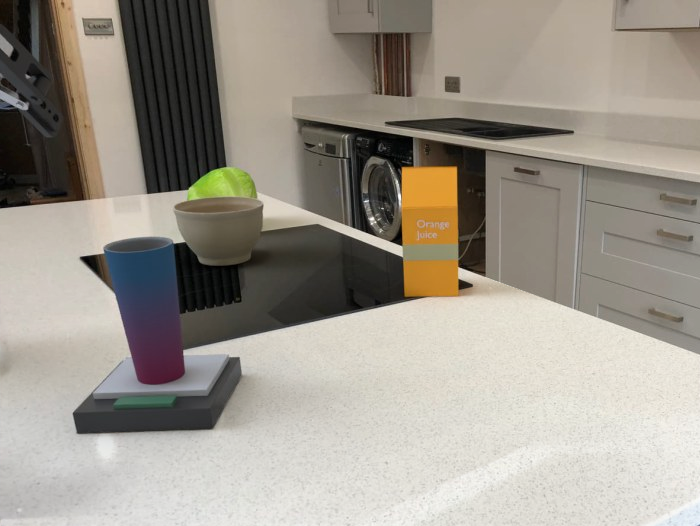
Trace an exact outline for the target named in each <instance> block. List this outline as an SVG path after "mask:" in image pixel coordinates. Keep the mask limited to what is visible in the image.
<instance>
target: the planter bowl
mask: <svg viewBox="0 0 700 526" xmlns="http://www.w3.org/2000/svg"><path fill="white" fill-rule="evenodd" d="M264 207H265V206H264V201H263V200H261V199H258V198H257V199H255V198H249V197H234V196H226V197H207V198H199V199H193V200H187V199H186V200H184V201H180V202H177V203H175V204H173V206H172V210H173V211H172V212H173V213H174V215H175V221H176V224H177V228H178V231H179V234H180V235H181V238H182V239H183V240H184V242H185V244H186V245H187V246H188V248H189V249H190V250H191V251H192V252H193V253H194V254H195V256H197V259H198V262H199V263H200V264H202V265H205V266H209V267H213V266H214V267H215V266H216V267H217V266H218V267H223V266H233V265H234V266H235V265H239V264H242V263H245V262H247V261H249V260H251V258H252V251H253V250H254V248H255V247H256V245H257V244H258V242H259V240H260V239H259V238H260V237H261V232H262V229H263V223H264Z"/></svg>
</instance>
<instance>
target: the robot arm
mask: <svg viewBox="0 0 700 526" xmlns="http://www.w3.org/2000/svg"><path fill="white" fill-rule="evenodd" d="M27 72H28V73H29V74H30V75H31V76H30V75H28V74H27ZM2 79H6V81H8V83H10V84H11V86H13V87H14V88H15V89H16V90H15V91H13V90H12V89H10V88H7V87H5V86H4V85H3V84H2ZM53 80H54V77H53V75H52V74H51V73H50V72H49V71H48V70H47V69H46V68H45V67H44V65H42V63H40V62H39V61H38V59H36V58H35V56H34V55H33V54H32V53H31V52H30V51H29V50H28V49H27V48H26V47H25V46H24V45H23V44H22V43H21V42H20V41H19V40H18V39H17V38H16V36H14V35H13V34H12V33H11V32H10V31H9V30H8V29H7V27H5V25H3V24H1V23H0V100H2V101H4V102H5V103H7V104H10V105H12V106H13V107H15V108H17V110H18V111H19V113H20V114H22V116H24V117H25V118H26V119H27V121H29V122H30V123H31V124H32V125H33V127H35V128H36V130H38V131H39V132H40V134H42V135H43V137H45V138H57V137H58V135H59V133H60V130H61V128H62V126H63V122H64V116H63V115H62V113H61V112H60V111H59V110H58V109H57V108H56V107H55V106H54V104H52V102H51V101H50V100H49V99H48V98H47V97H46V95H47V93H48V91H49V89H50V88H51V86H52V83H53Z"/></svg>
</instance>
